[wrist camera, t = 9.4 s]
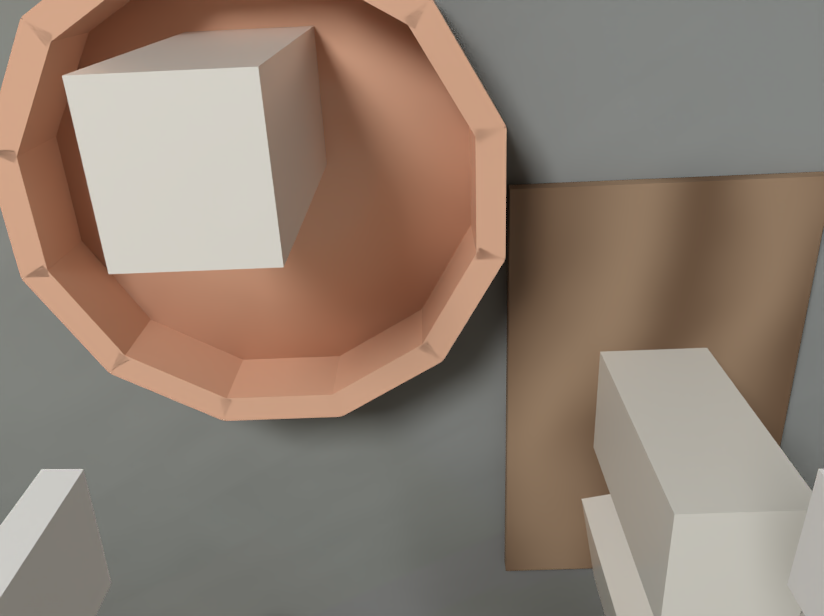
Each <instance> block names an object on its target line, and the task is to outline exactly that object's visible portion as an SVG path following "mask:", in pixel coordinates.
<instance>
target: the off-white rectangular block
mask: <svg viewBox="0 0 824 616" xmlns="http://www.w3.org/2000/svg"><path fill="white" fill-rule="evenodd" d="M594 450H595V453H596V455H597V458H598V461H599V464H600V467H601V470H602V472H603V475H604V478H605V481H606V484H607V486H608V489H609V492H610V495H611V498H612V501H613V503H614V506H615V509H616V512H617V515H618V517H619V520H620V523H621V526H622V529H623V531H624V534H625V537H626V540H627V543H628V546H629V548H630V551H631V554H632V557H633V560H634V562H635V565H636V568H637V571H638V574H639V576H640V579H641V582H642V585H643V588H644V591H645V593H646V596H647V599H648V602H649V605H650V607H651V610H652V613H653V616H800V614H801V608H800V606H799V605H798V603H797V601H796V599H795V598H794V596H793V594H792V592H791V591H790V589H789V587H788V585H787V583H788V579H789V576H790V572H791V568H792V565H793V561H794V557H795V554H796V550H797V546H798V543H799V539H800V535H801V532H802V528H803V524H804V521H805V517H806V513H807V510H808V506H809V502H810V499H811V495H812V491H811V489H810V488H809V486H808V485H807V484H806V482H805V481H804V480H803V478H802V477H801V476H800V474H799V473H798V471H797V470H796V469H795V467H794V466H793V465H792V463H791V462H790V460H789V459H788V458H787V456H786V455H785V454H784V452H783V451H782V450H781V448H780V447H779V445H778V444H777V443H776V441H775V440H774V439H773V437H772V436H771V434H770V433H769V432H768V430H767V429H766V428H765V426H764V425H763V423H762V422H761V421H760V419H759V418H758V417H757V415H756V414H755V413H754V411H753V410H752V408H751V407H750V406H749V404H748V403H747V402H746V400H745V399H744V397H743V396H742V395H741V393H740V392H739V391H738V389H737V388H736V387H735V385H734V384H733V382H732V381H731V380H730V378H729V377H728V376H727V374H726V373H725V371H724V370H723V369H722V367H721V366H720V365H719V363H718V362H717V360H716V359H715V358H714V356H713V355H712V354H711V352H710V351H709V350H708V348H686V349H659V350H632V351H604V352H600V361H599V375H598V390H597V404H596V418H595V433H594Z"/></svg>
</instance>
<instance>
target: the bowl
mask: <svg viewBox="0 0 824 616" xmlns="http://www.w3.org/2000/svg"><path fill="white" fill-rule="evenodd" d="M298 26H314V32H315V43H316V53H317V64H318V75H319V85H320V96H321V106H322V117H323V128H324V138H325V149H326V159H327V165H326V168H325V170H324V173H323V175H322V177H321V180H320V182H319V184H318V187H317V189H316V192H315V194H314V196H313V199H312V201H311V203H310V206H309V208H308V211H307V213H306V215H305V218H304V220H303V223H302V225H301V227H300V230H299V232H298V234H297V237H296V239H295V242H294V244H293V246H292V249H291V251H290V253H289V256H288V258H287V261H286V263H285V265H284V267H280V268H254V269H229V270H204V271H179V272H153V273H128V274H108V270H107V266H106V261H105V257H104V253H103V249H102V244H101V240H100V236H99V232H98V227H97V223H96V219H95V215H94V210H93V206H92V202H91V198H90V193H89V189H88V185H87V180H86V176H85V172H84V168H83V163H82V159H81V155H80V151H79V146H78V142H77V138H76V134H75V129H74V125H73V121H72V117H71V112H70V108H69V104H68V100H67V95H66V91H65V87H64V83H63V78H62V75H65V74H68V73H71V72H74V71H76V70H79V69H82V68H85V67H88V66H91V65H93V64H96V63H99V62H102V61H105V60H108V59H110V58H113V57H116V56H119V55H122V54H125V53H127V52H130V51H133V50H136V49H139V48H142V47H144V46H147V45H150V44H153V43H156V42H159V41H161V40H164V39H167V38H170V37H173V36H175V35H178V34H181V33H184V32H193V31H214V30H235V29H256V28H277V27H298ZM506 138H507V128H506V125H505V123H504V121H503V119H502V117H501V115H500V113H499V111H498V109H497V107H496V106H495V104H494V102H493V101H492V99H491V97H490V95H489V94H488V92H487V90H486V88H485V87H484V85H483V83H482V82H481V80H480V78H479V76H478V75H477V73H476V71H475V70H474V68H473V66H472V64H471V63H470V61H469V59H468V58H467V56H466V54H465V52H464V50H463V49H462V47H461V45H460V44H459V42H458V40H457V39H456V37H455V35H454V33H453V32H452V30H451V28H450V27H449V25H448V23H447V21H446V20H445V18H444V16H443V14H442V13H441V11H440V9H439V8H438V6H437V4H436V2H435V1H434V0H42V1H41V2H40V3H38V4H37V5H36V6H35V7H33V8H32V9H31V10H30V11H28V12H27V13H26V14H25V15H23V16H22V18H20V22H19V26H18V29H17V33H16V36H15V40H14V44H13V47H12V51H11V55H10V58H9V62H8V65H7V69H6V73H5V76H4V80H3V83H2V87H1V91H0V207H1V210H2V214H3V217H4V221H5V224H6V228H7V231H8V234H9V238H10V241H11V245H12V248H13V252H14V255H15V259H16V262H17V266H18V269H19V272H20V276H21V278H23V279H22V280H23V281H24V282H25V283H26V284H27V285H28V286H29V287H30V288H31V290H32V291H33V292H34V293H35V294H36V295H37V296H38V297H39V298H40V299H41V300H42V301H43V302H44V303H45V305H46V306H47V307H48V308H49V309H50V310H51V311H52V312H53V313H54V314H55V315H56V316H57V317H58V319H59V320H60V321H61V322H62V323H63V324H64V325H65V326H66V327H67V328H68V329H69V330H70V331H71V332H72V334H73V335H74V336H75V337H76V338H77V339H78V340H79V341H80V342H81V343H82V344H83V345H84V346H85V348H86V349H87V350H88V351H89V352H90V353H91V354H92V355H93V356H94V357H95V358H96V359H97V360H98V361H99V363H100V364H101V365H102V366H103V367H104V368H105V369H106V370H107V371H108V372H109V373H110V372H111V373H110V374H112V375H115V376H117V377H120V378H122V379H124V380H127V381H129V382H132V383H134V384H136V385H139V386H141V387H144V388H146V389H148V390H151V391H153V392H156V393H158V394H160V395H163V396H165V397H168V398H170V399H172V400H175V401H177V402H180V403H182V404H184V405H187V406H189V407H192V408H194V409H196V410H199V411H201V412H204V413H206V414H208V415H211V416H213V417H216V418H218V419H220V420H224V421H234V420H263V419H291V418H320V417H341V415H342V416H344V415H346V414H348V413H349V412H351V411H353V410H355V409H357V408H358V407H360V406H362V405H364V404H366V403H368V402H369V401H371V400H373V399H375V398H377V397H378V396H380V395H382V394H384V393H386V392H388V391H389V390H391V389H393V388H395V387H397V386H399V385H400V384H402V383H404V382H406V381H408V380H409V379H411V378H413V377H415V376H417V375H419V374H420V373H422V372H424V371H426V370H428V369H429V368H431V367H433V366H435V365H437V364H439V363H440V362H442V360H444V358H445V357H446V355H447V354H448V352H449V350H450V349H451V347H452V345H453V344H454V342H455V341H456V339H457V337H458V336H459V334H460V332H461V331H462V329H463V328H464V326H465V324H466V323H467V321H468V319H469V318H470V316H471V315H472V313H473V311H474V310H475V308H476V306H477V305H478V303H479V302H480V300H481V298H482V297H483V295H484V293H485V292H486V290H487V289H488V287H489V285H490V284H491V282H492V280H493V279H494V277H495V276H496V274H497V272H498V271H499V269H500V267H501V266H502V264H503V263H504V261H505V258H506Z"/></svg>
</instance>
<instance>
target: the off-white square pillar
mask: <svg viewBox="0 0 824 616" xmlns="http://www.w3.org/2000/svg"><path fill="white" fill-rule="evenodd" d="M582 505H583V512H584V518H585V524H586V530H587V537H588V543H589V549H590V555H591V561H592V568H593V574H594V578H595V582H596V585H597V589H598V593H599V596H600V600H601V603H602V607H603V610H604V614H605V616H653V613H652V610H651V607H650V605H649V602H648V599H647V596H646V593H645V591H644V588H643V585H642V582H641V579H640V576H639V574H638V571H637V568H636V565H635V562H634V560H633V557H632V554H631V551H630V548H629V546H628V543H627V540H626V537H625V534H624V531H623V529H622V526H621V523H620V520H619V517H618V515H617V512H616V509H615V506H614V503H613V501H612V498H611V495H610V494H608V495H602V496H596V497H590V498H584V499H582Z"/></svg>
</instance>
